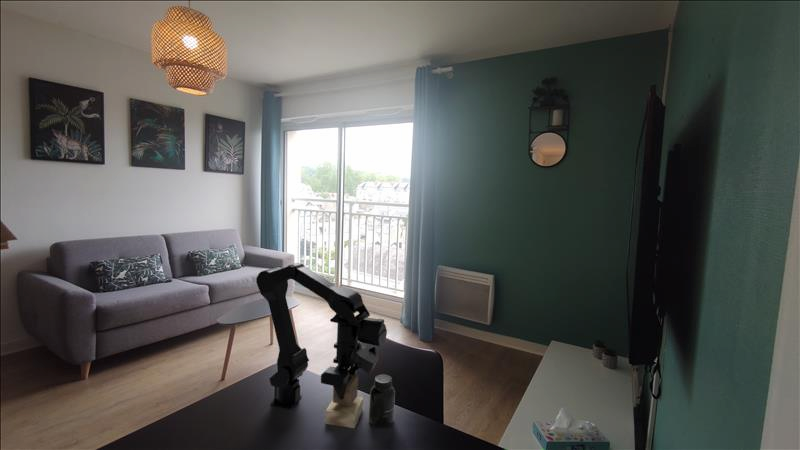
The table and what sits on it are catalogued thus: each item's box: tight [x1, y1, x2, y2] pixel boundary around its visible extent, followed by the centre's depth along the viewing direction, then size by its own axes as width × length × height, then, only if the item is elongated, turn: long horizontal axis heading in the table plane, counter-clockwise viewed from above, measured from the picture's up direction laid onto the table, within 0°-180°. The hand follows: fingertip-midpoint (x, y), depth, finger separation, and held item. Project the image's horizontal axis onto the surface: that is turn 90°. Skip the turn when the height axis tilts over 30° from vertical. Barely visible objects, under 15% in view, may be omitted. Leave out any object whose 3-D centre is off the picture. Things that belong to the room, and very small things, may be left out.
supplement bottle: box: [368, 374, 396, 428], centre depth 98 cm, size 7×7×12 cm
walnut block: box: [332, 374, 359, 406], centre depth 99 cm, size 5×5×6 cm
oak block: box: [325, 396, 364, 429], centre depth 99 cm, size 8×8×4 cm
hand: (345, 393), depth 99 cm, fingers closed on walnut block, 5 cm apart
